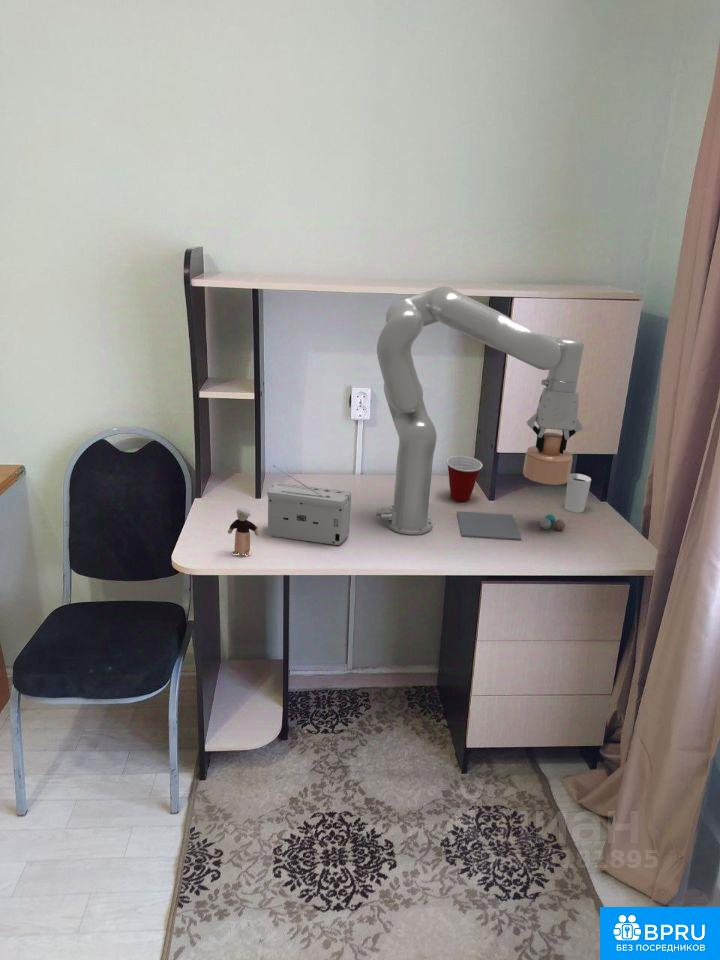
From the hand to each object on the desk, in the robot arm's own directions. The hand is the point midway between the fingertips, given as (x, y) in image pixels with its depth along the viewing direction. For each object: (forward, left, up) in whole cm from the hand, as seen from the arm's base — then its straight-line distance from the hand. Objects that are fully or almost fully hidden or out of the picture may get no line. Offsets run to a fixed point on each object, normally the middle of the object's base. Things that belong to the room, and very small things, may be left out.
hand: (550, 450), depth 196 cm
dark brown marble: (+6, -1, -23) cm, 23 cm away
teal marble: (+4, +3, -23) cm, 23 cm away
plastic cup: (-20, +17, -23) cm, 35 cm away
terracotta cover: (0, 0, -7) cm, 7 cm away
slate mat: (-14, -2, -23) cm, 27 cm away
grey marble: (+2, -1, -23) cm, 23 cm away
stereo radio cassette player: (-63, -16, -23) cm, 69 cm away
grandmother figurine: (-78, -28, -23) cm, 86 cm away
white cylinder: (+14, +15, -23) cm, 31 cm away
